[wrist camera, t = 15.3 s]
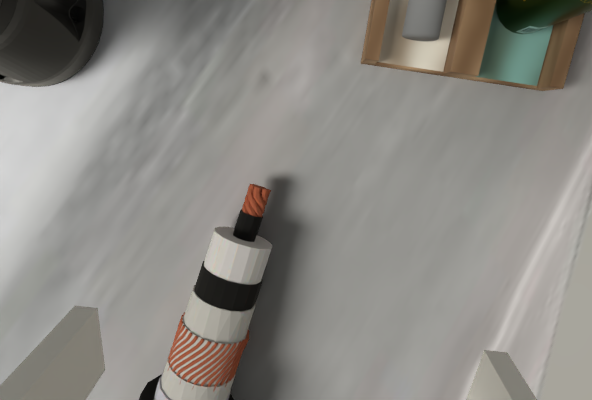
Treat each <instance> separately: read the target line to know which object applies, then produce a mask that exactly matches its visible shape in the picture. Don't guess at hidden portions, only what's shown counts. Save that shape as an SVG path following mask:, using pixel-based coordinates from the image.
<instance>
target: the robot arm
mask: <svg viewBox="0 0 592 400" xmlns="http://www.w3.org/2000/svg"><path fill="white" fill-rule="evenodd" d="M102 25H103V2H102V0H0V82H4V83H8V84H14V85H22V86H32V87H41V86H49V85H53V84H57V83H60V82H62V81H64V80H66V79H68V78H70V77H71V76H73V75H74V74H76V73H77V72H78V71H79V70H80V69H82V68H83V67H84V65H85V64H86V63H87V62H88V61H89V59H90V58H91V56H92V55H93V53H94V51H95V49H96V47H97V44H98V42H99V39H100V35H101V31H102ZM104 371H105V364H104V356H103V348H102V340H101V332H100V324H99V316H98V308H90V307H81V306H75V307H74V308H73V309H72V310H71V311H70V312H69V313H68V314H67V315H66V316H65V317H64V318H63V319H62V320H61V321H60V323H59V324H58V325H57V326H56V327H55V328H54V329H53V330H52V331H51V332H50V333H49V334H48V335H47V336H46V337H45V339H44V340H43V341H42V342H41V343H40V344H39V345H38V346H37V347H36V348H35V349H34V350H33V351H32V352H31V353H30V355H29V356H28V357H27V358H26V359H25V360H24V361H23V362H22V363H21V364H20V365H19V366H18V367H17V368H16V370H15V371H14V372H13V373H12V374H11V375H10V376H9V377H8V378H7V379H6V380H5V381H4V382H3V383H2V384H1V386H0V400H86V398H87V397H88V395H89V394H90V392H91V391H92V389H93V388H94V386H95V384H96V383H97V381H98V380H99V378H100V377H101V375H102V374H103V372H104ZM466 400H537V399H536V397H535V396H534V394H533V393H532V391H531V390H530V388H529V386H528V385H527V383H526V382H525V380H524V379H523V377H522V375H521V374H520V372H519V371H518V369H517V367H516V366H515V364H514V363H513V361H512V360H511V358H510V356H509V355H508V353H506V352H497V351H487V350H484V352H483V355H482V358H481V361H480V363H479V366H478V369H477V372H476V374H475V377H474V380H473V383H472V386H471V388H470V391H469V394H468V397H467V399H466Z"/></svg>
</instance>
